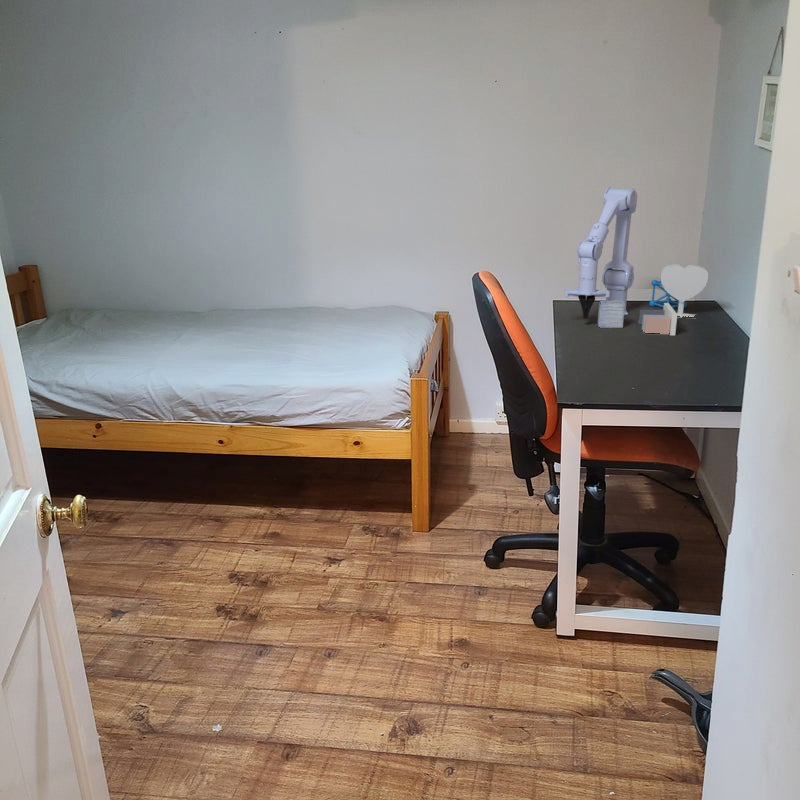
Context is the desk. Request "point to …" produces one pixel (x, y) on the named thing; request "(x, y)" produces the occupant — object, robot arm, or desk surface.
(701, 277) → the heart sculpture
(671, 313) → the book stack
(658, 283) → the molecular structure
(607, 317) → the medicine box
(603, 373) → the desk surface
